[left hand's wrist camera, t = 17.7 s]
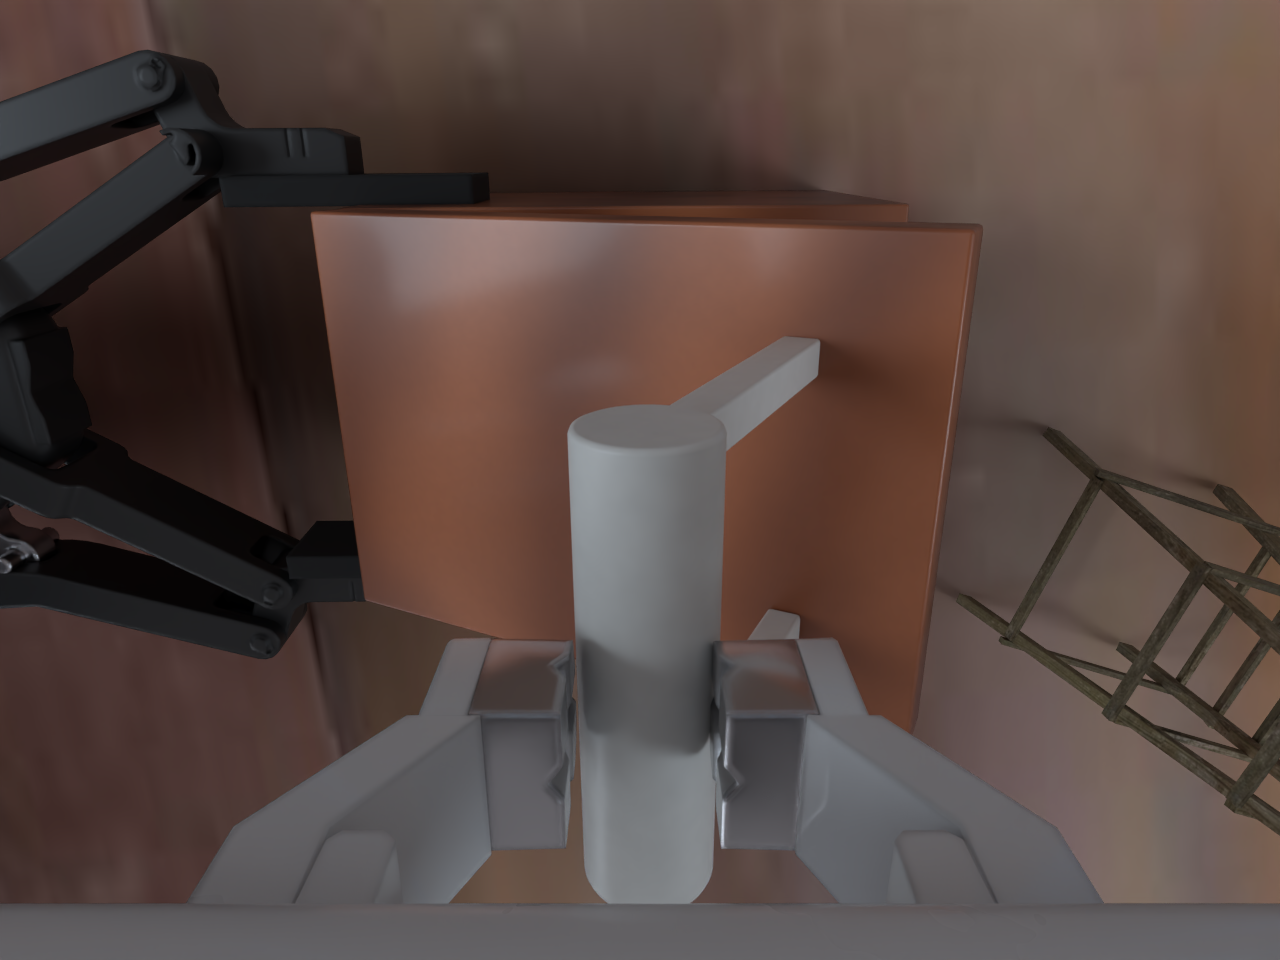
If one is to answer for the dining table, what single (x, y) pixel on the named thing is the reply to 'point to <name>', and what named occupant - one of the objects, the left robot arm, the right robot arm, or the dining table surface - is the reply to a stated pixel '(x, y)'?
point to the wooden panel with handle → (652, 464)
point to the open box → (686, 205)
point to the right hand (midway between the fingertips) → (495, 381)
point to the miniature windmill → (1274, 734)
